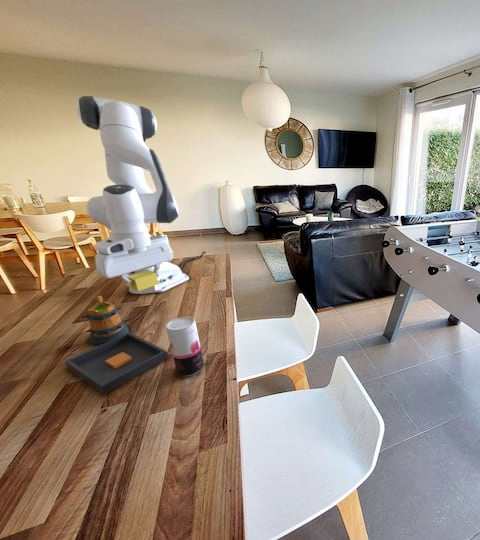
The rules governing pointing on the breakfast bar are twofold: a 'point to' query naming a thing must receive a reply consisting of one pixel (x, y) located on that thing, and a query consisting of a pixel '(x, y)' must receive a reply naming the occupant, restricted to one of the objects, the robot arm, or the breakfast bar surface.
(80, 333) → the breakfast bar surface
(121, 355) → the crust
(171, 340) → the beverage can
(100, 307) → the brown wooden barrel
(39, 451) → the breakfast bar surface
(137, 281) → the sponge
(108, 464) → the breakfast bar surface
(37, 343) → the breakfast bar surface
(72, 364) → the dark grey tray
